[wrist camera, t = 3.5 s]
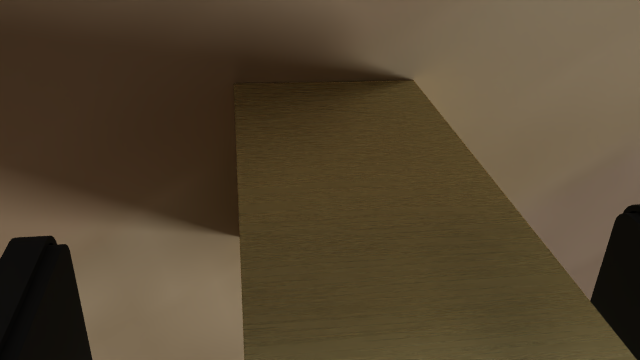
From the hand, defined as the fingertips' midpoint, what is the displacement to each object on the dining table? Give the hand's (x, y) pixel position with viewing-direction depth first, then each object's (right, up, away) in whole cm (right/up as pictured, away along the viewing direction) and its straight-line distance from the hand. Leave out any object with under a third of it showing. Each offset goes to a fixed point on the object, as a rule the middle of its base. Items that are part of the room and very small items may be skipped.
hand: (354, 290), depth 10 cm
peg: (-1, +2, +4) cm, 5 cm away
